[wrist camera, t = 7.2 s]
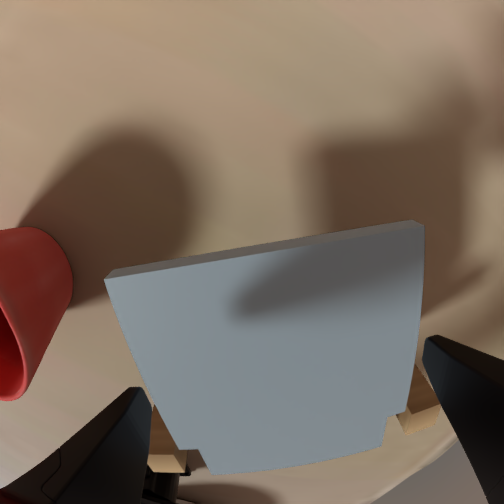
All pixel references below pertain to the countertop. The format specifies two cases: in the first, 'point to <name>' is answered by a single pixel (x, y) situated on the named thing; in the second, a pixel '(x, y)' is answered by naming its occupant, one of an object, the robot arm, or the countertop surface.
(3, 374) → the flower pot
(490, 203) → the countertop surface
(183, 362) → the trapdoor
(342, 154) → the countertop surface
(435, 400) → the frame
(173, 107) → the countertop surface
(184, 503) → the paper bowls
